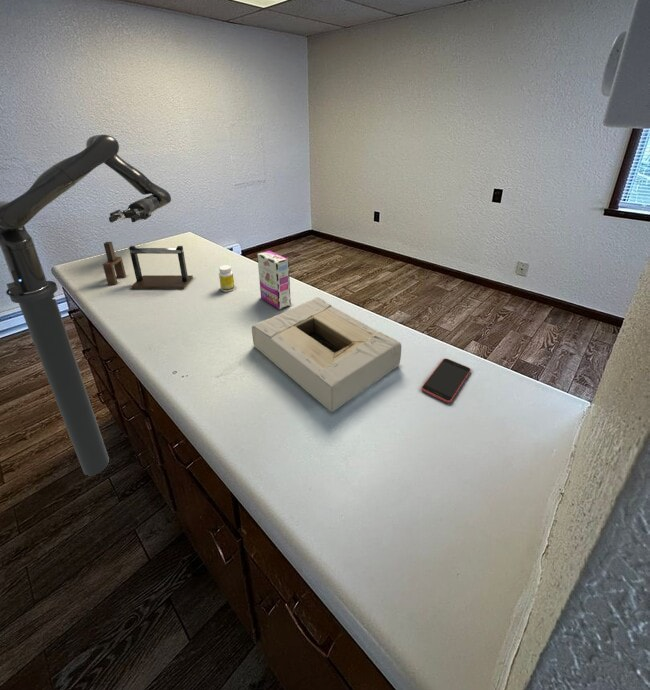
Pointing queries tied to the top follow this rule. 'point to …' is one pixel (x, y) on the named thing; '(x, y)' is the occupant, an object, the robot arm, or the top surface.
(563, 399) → the top surface
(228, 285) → the supplement bottle
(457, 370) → the smartphone
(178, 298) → the top surface
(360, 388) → the box
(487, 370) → the top surface
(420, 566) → the top surface
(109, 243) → the brown u-shaped bracket
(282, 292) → the candy bar box
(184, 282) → the rack
